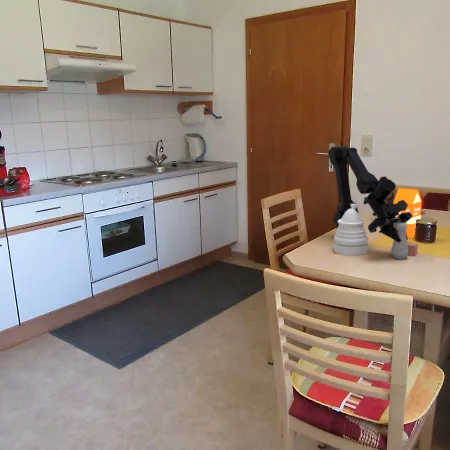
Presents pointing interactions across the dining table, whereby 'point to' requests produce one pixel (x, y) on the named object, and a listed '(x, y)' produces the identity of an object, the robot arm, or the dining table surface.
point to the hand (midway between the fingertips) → (403, 241)
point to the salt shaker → (400, 248)
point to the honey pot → (351, 234)
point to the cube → (412, 248)
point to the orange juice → (410, 207)
